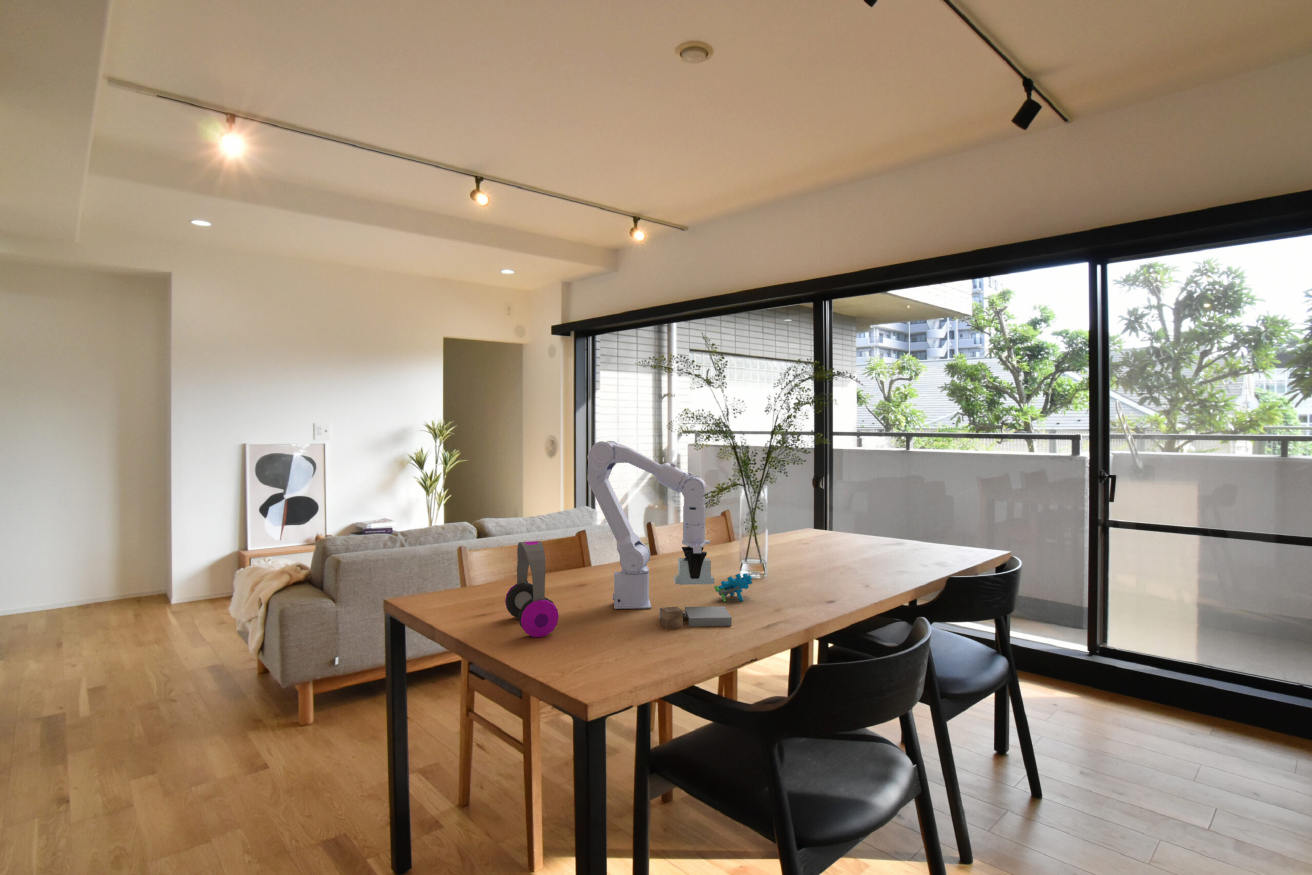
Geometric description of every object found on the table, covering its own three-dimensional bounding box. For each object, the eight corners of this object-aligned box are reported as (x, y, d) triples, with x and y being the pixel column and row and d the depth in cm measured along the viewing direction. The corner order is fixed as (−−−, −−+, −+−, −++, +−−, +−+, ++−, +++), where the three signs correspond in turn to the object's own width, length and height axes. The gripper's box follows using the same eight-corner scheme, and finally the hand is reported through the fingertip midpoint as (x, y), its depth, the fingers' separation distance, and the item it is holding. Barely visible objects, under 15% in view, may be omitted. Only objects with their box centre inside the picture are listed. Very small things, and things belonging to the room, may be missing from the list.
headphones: (503, 617, 167) (503, 536, 166) (538, 613, 170) (539, 533, 170) (521, 641, 147) (521, 549, 147) (561, 637, 151) (561, 547, 151)
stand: (689, 626, 159) (689, 618, 159) (684, 614, 169) (684, 606, 169) (731, 625, 160) (731, 617, 160) (724, 614, 170) (724, 606, 170)
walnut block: (666, 629, 157) (666, 612, 157) (661, 624, 161) (661, 607, 161) (682, 627, 159) (682, 610, 159) (676, 623, 162) (676, 606, 162)
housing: (675, 584, 173) (675, 560, 173) (673, 580, 177) (674, 557, 177) (714, 584, 173) (714, 560, 173) (712, 580, 178) (712, 557, 178)
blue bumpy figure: (746, 587, 191) (754, 568, 184) (754, 606, 188) (762, 586, 180) (710, 595, 189) (716, 576, 181) (717, 614, 185) (723, 595, 178)
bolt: (660, 621, 163) (660, 609, 163) (659, 618, 166) (659, 606, 166) (685, 620, 164) (685, 609, 164) (683, 618, 167) (683, 606, 167)
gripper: (713, 527, 168) (713, 582, 168) (705, 519, 183) (705, 570, 183) (685, 527, 168) (685, 582, 168) (679, 519, 182) (679, 570, 182)
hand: (693, 576), depth 175 cm, fingers closed on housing, 4 cm apart
